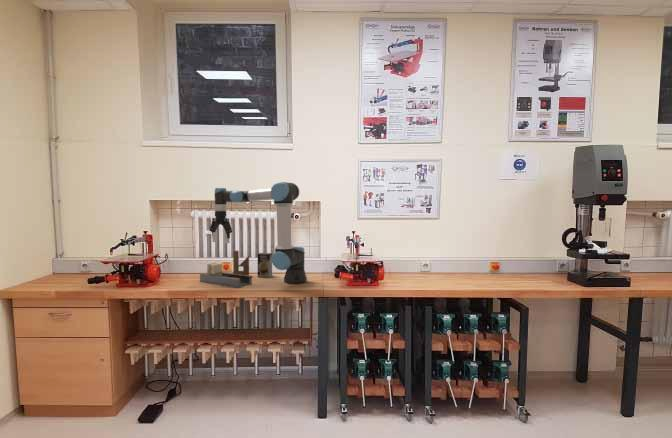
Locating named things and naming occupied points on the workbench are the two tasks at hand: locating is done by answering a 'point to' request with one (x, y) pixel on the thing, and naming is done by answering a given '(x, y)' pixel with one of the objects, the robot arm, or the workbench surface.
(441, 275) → the workbench surface
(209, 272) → the maple block
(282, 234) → the robot arm
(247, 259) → the dark angular piece
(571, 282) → the workbench surface
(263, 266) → the coffee box
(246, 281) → the steel chute
